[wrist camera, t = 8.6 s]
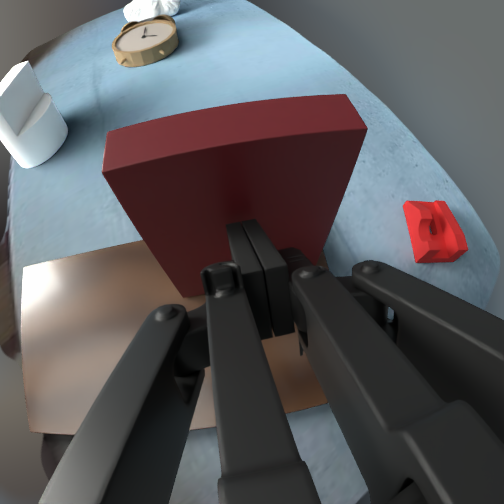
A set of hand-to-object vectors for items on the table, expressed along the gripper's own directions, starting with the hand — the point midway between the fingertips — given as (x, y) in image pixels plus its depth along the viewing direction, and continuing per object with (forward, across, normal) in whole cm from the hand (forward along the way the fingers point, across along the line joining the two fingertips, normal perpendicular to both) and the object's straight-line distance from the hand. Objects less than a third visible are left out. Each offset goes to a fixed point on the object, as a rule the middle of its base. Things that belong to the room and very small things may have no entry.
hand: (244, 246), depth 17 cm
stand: (+7, +8, +8) cm, 13 cm away
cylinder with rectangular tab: (+27, +24, -12) cm, 38 cm away
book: (+8, 0, +5) cm, 10 cm away
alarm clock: (+41, +8, -26) cm, 49 cm away
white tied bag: (+51, +7, -36) cm, 63 cm away
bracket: (+10, -20, +6) cm, 22 cm away
